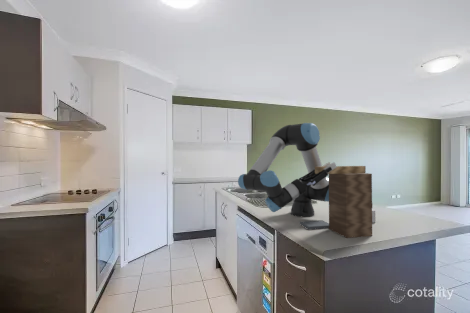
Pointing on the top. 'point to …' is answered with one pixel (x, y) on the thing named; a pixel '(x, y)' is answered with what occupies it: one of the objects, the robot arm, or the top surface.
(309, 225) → the mat
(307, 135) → the robot arm
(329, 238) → the top surface
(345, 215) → the stand
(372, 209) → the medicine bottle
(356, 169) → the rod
